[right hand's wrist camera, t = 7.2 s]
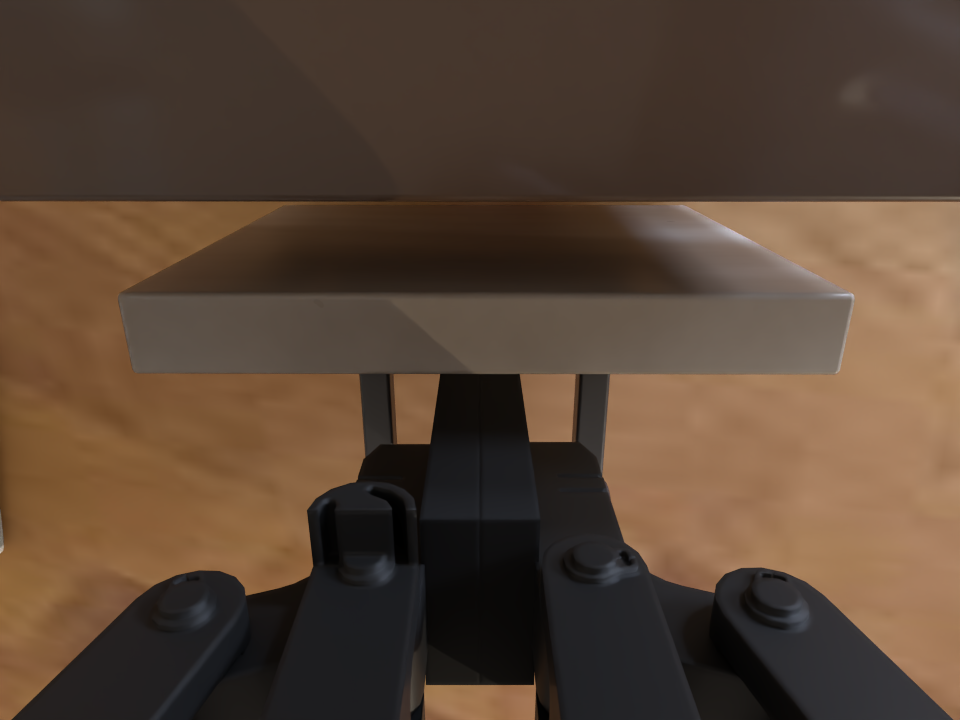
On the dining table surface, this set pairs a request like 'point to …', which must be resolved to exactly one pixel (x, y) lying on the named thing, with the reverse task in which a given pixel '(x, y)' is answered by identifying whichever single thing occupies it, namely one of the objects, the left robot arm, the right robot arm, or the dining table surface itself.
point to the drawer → (486, 301)
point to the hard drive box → (1, 535)
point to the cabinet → (480, 100)
